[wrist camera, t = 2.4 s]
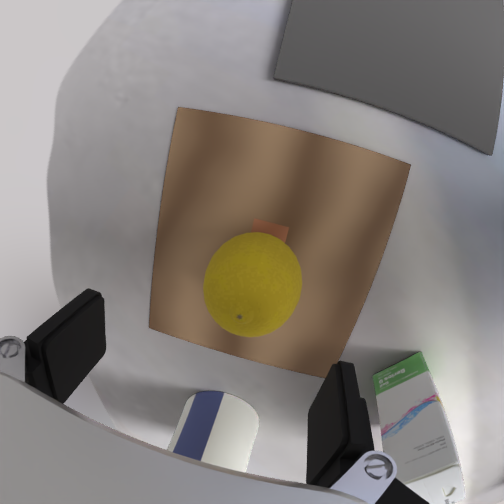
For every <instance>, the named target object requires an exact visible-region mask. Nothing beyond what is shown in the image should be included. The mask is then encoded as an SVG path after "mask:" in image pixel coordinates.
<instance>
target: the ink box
mask: <svg viewBox="0 0 504 504" xmlns="http://www.w3.org/2000/svg"><path fill="white" fill-rule="evenodd" d="M373 382H374V387H375V393H376V400H377V407H378V414H379V420H380V429H381V436H382V445H383V452H384V453H386V454H388V455H389V456H390V457H392V458H393V460H394V461H395V463H396V466H397V474H396V476H395V478H397V479H398V480H399V481H401V482H402V483H403V484H405V485H406V486H407V487H408V488H410V489H411V490H412V491H414V492H415V493H416V494H418V495H419V496H420V497H422V498H423V499H424V500H426V501H427V502H429V503H430V504H455V503H457V502H460V501H462V500H463V499H464V498H465V497H466V492H465V486H464V479H463V475H462V470H461V465H460V461H459V456H458V452H457V448H456V445H455V441H454V437H453V434H452V431H451V427H450V424H449V421H448V418H447V415H446V412H445V409H444V406H443V404H442V401H441V398H440V395H439V393H438V390H437V388H436V385H435V383H434V381H433V378H432V376H431V373H430V371H429V369H428V367H427V364H426V362H425V360H424V357H423V355H422V352H418V353H416V354H414V355H412V356H411V357H409V358H407V359H405V360H403V361H401V362H399V363H397V364H395V365H393V366H391V367H389V368H387V369H385V370H383V371H381V372H378V373H377V374H374V375H373Z"/></svg>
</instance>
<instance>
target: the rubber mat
mask: <svg viewBox="0 0 504 504" xmlns="http://www.w3.org/2000/svg"><path fill="white" fill-rule="evenodd" d="M503 78H504V0H293V1H292V5H291V9H290V13H289V16H288V20H287V24H286V28H285V32H284V36H283V40H282V44H281V48H280V52H279V57H278V61H277V65H276V69H275V73H274V79H276V80H281V81H286V82H290V83H295V84H299V85H303V86H308V87H312V88H316V89H320V90H323V91H327V92H331V93H334V94H338V95H341V96H345V97H348V98H352V99H355V100H358V101H361V102H364V103H367V104H370V105H373V106H376V107H379V108H382V109H385V110H388V111H391V112H393V113H396V114H399V115H401V116H404V117H407V118H409V119H412V120H414V121H417V122H419V123H422V124H424V125H426V126H429V127H431V128H433V129H436V130H438V131H440V132H442V133H445V134H447V135H449V136H451V137H453V138H455V139H457V140H459V141H462V142H464V143H466V144H468V145H470V146H472V147H474V148H476V149H477V150H479V151H481V152H483V153H485V154H487V155H491V156H492V154H493V149H494V144H495V139H496V133H497V127H498V121H499V114H500V107H501V99H502V89H503Z"/></svg>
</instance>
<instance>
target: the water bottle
mask: <svg viewBox="0 0 504 504" xmlns="http://www.w3.org/2000/svg"><path fill="white" fill-rule="evenodd" d="M259 422H260V421H259V416H258V414H257V412H256V411H255V410H254V408H253V407H252V406H251V405H249V404H248V403H247V402H245V401H244V400H242V399H240V398H238V397H236V396H234V395H231V394H228V393H224V392H218V391H203V392H199V393H196V394H194V395H192V396H191V397H190V398H189V399H188V400H187V402H186V404H185V407H184V409H183V412H182V415H181V417H180V420H179V422H178V425H177V427H176V430H175V432H174V435H173V437H172V439H171V442H170V444H169V446H168V449H167V451H170V452H173V453H176V454H179V455H182V456H185V457H189V458H192V459H195V460H198V461H202V462H205V463H209V464H212V465H216V466H220V467H224V468H228V469H232V470H236V471H240V472H245V473H246V470H247V466H248V462H249V458H250V454H251V451H252V448H253V444H254V441H255V437H256V434H257V431H258V427H259Z"/></svg>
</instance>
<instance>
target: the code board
mask: <svg viewBox="0 0 504 504" xmlns="http://www.w3.org/2000/svg"><path fill="white" fill-rule="evenodd" d="M410 167H411V165H410V164H408V163H405V162H402V161H399V160H397V159H394V158H391V157H388V156H385V155H382V154H379V153H377V152H374V151H370V150H367V149H364V148H361V147H358V146H355V145H352V144H348V143H345V142H342V141H338V140H335V139H331V138H328V137H324V136H321V135H317V134H313V133H309V132H306V131H302V130H298V129H294V128H289V127H285V126H281V125H277V124H272V123H268V122H263V121H258V120H253V119H248V118H243V117H238V116H233V115H227V114H221V113H215V112H209V111H203V110H196V109H189V108H181V107H178V110H177V115H176V120H175V125H174V130H173V135H172V140H171V145H170V151H169V156H168V162H167V168H166V174H165V180H164V186H163V193H162V200H161V207H160V214H159V221H158V229H157V238H156V247H155V256H154V266H153V277H152V289H151V303H150V318H149V328H151V329H154V330H156V331H159V332H162V333H165V334H168V335H171V336H173V337H176V338H179V339H182V340H185V341H188V342H191V343H195V344H198V345H201V346H204V347H207V348H210V349H214V350H217V351H220V352H224V353H227V354H230V355H234V356H237V357H241V358H244V359H248V360H252V361H255V362H259V363H263V364H267V365H271V366H275V367H279V368H283V369H287V370H291V371H295V372H299V373H304V374H308V375H313V376H317V377H322V378H326V376H327V374H328V372H329V370H330V368H331V366H332V364H337V362H338V360H339V358H340V356H341V354H342V352H343V350H344V348H345V345H346V343H347V341H348V339H349V337H350V335H351V332H352V330H353V328H354V326H355V323H356V321H357V319H358V316H359V314H360V312H361V309H362V307H363V305H364V302H365V300H366V297H367V295H368V293H369V290H370V288H371V285H372V282H373V280H374V277H375V275H376V272H377V269H378V267H379V264H380V261H381V259H382V256H383V253H384V250H385V248H386V245H387V242H388V239H389V236H390V233H391V230H392V227H393V224H394V221H395V218H396V215H397V212H398V208H399V205H400V202H401V199H402V195H403V192H404V188H405V185H406V181H407V178H408V174H409V170H410ZM252 232H261V233H266V234H270V235H272V236H274V237H277V238H279V239H280V240H282V241H283V242H284V243H285V244H286V245H288V246H289V247H290V249H291V250H292V251H293V253H294V254H295V255H296V257H297V260H298V262H299V265H300V267H301V274H302V289H301V295H300V299H299V302H298V304H297V306H296V308H295V310H294V312H293V313H292V315H291V316H290V317H289V319H288V320H287V321H286V322H285V323H284V324H283V325H282V326H281V327H279V328H278V329H276V330H275V331H273V332H271V333H269V334H266V335H263V336H259V337H243V336H238V335H235V334H232V333H230V332H228V331H227V330H225V329H223V328H222V327H221V326H220V325H219V324H218V323H216V322H215V320H214V319H213V318H212V316H211V315H210V313H209V312H208V309H207V307H206V304H205V301H204V293H203V284H204V278H205V272H206V269H207V266H208V264H209V262H210V260H211V258H212V256H213V255H214V254H215V252H216V251H217V250H218V249H219V248H220V247H221V246H222V245H223V244H224V243H225V242H227V241H229V240H230V239H232V238H233V237H235V236H238V235H241V234H244V233H252Z"/></svg>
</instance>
